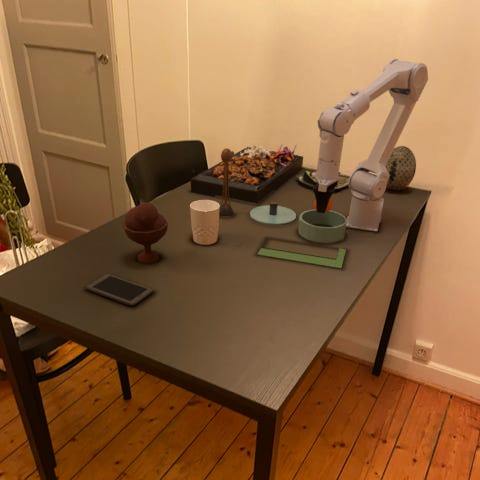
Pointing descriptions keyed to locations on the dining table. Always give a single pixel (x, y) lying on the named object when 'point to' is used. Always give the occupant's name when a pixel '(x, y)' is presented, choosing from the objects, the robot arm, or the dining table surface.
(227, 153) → the wooden tabletop sculpture
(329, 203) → the orange
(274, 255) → the green flat l-shaped piece
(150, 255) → the ice cream bowl
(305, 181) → the salad plate
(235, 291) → the dining table surface
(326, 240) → the pot
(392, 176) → the decorative egg
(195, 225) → the white cup
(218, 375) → the dining table surface
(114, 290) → the cell phone
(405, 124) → the robot arm
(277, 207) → the lid
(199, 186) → the food platter
